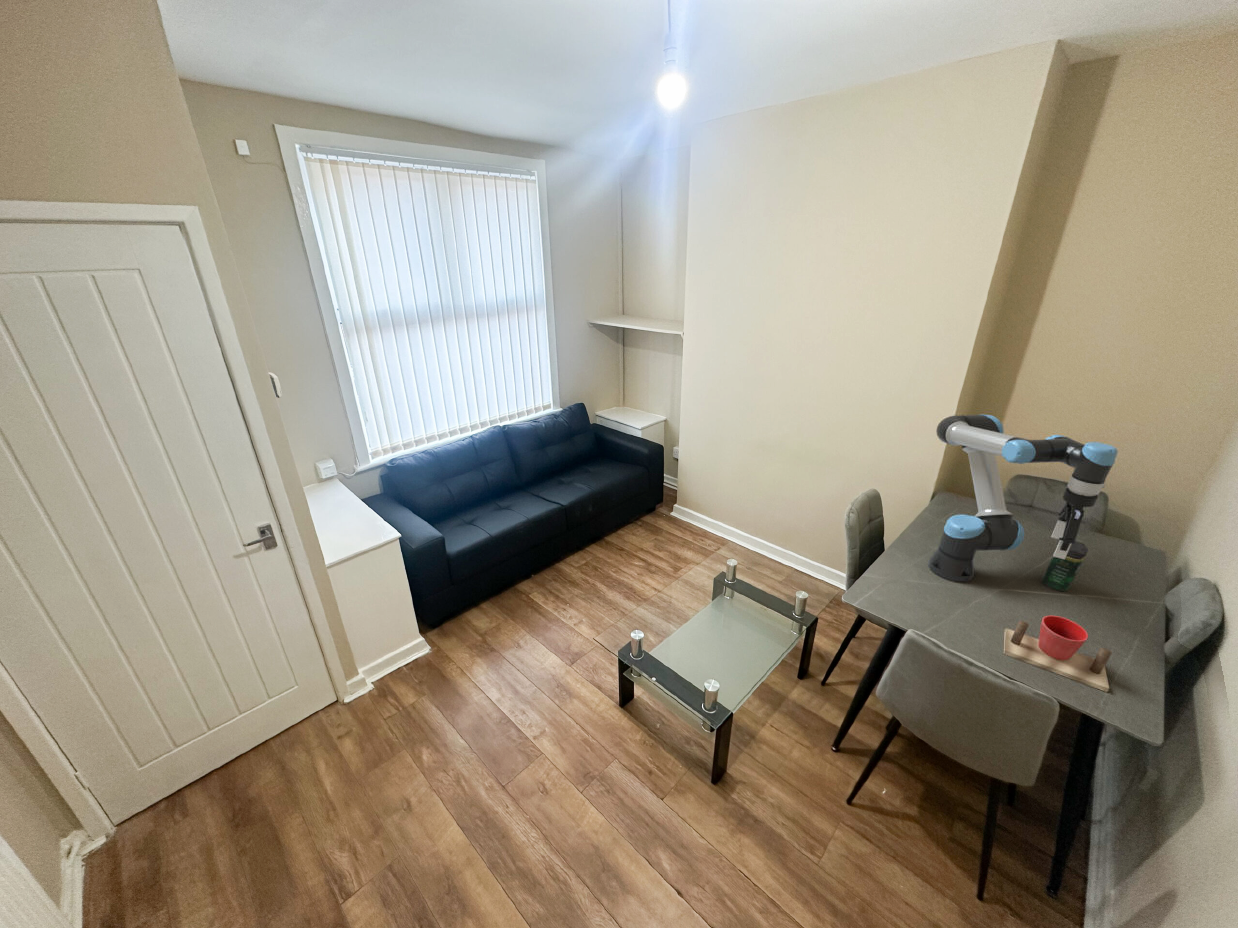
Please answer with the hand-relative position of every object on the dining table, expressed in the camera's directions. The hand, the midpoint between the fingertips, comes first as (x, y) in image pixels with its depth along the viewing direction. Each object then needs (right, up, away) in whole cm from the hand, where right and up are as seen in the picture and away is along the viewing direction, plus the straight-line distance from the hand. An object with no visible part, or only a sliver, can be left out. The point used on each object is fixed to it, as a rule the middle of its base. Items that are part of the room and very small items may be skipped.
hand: (1057, 547), depth 156 cm
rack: (-10, -34, -9) cm, 36 cm away
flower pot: (-8, -32, -8) cm, 34 cm away
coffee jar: (+21, -19, +23) cm, 36 cm away
